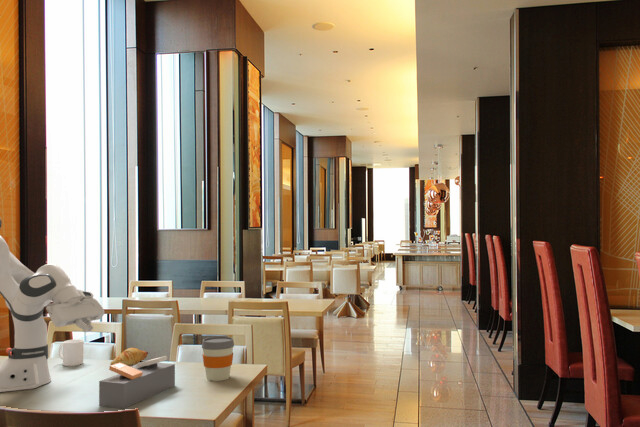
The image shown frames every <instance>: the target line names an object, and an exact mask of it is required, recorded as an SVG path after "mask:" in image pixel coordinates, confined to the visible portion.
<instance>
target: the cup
mask: <svg viewBox="0 0 640 427" xmlns="http://www.w3.org/2000/svg"><path fill="white" fill-rule="evenodd" d="M84 341H85V340H84V339H77V338H75V339H68V340H64V341H63V342H62V343H61V344H59V345H60V346H59V348H58V356H59V358H60V359H61V360H62V365H63V366H65V367H74V366H75V365H77V366H81V365H83V363H84V354H85V352H84V351H85V350H84V348H85V347H84V344H85V342H84ZM80 364H81V365H80ZM75 367H76V366H75Z"/></svg>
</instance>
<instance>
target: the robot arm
mask: <svg viewBox="0 0 640 427" xmlns="http://www.w3.org/2000/svg"><path fill="white" fill-rule="evenodd" d="M2 223H3V222H2V220H1V218H0V229H2ZM0 295H1V296H2V297H3V299H4V301H5V305H6V307H7V308H8V309H9V311H10V314H11V317H12V321H13V326H14V347H13V348H11V347H7V348H6V354H8V358H7V359H6V360H5V361H3V362H2V363H1V364H0V393H3V392H12V391H13V392H14V391H22V390H31V389H36V388H38V387H41V386H43V385H47V384H49V383H50V382H52V378H51V375H50V370H49V362H48V360H49V345H48V325H47V324H48V323H47V322H46V321H45V318H44V309H46V311H47V313H48V316H49V318H50V320H51V322H52V324H53V326H54V327H56V328H61V327H66V326H71V325H75V326H76V327H78V328H79V329H81V330H82V331H83V332H84V333H87V332H91V331H92V330H93V329H94V326H93V324H92V322H93V321H98V320H101V319H102V318H103V316H104V315H105V309H104V308H103V306H102V305H101V303H100V302H99V301H98V300H97V299H96V298H94V294H93V293H92V292H91V291H84V290H81V289H77V287H76V286H75V285H73V284H72V282H71V279H70V278H69V276H68V275H67V273H66V272H65V271H64V270H63V269H62V268H61V267H60V266H58V265H57V264H54V263H47V264H44V265H42V266H40V267H39V268H37V270H36V272H34V271H32V270H31V269H29V268H28V267H27V266H26V265H24V264H23V263H22V262H21V261H20V260H19V258H17V257H16V256H15V254H13V253H12V252H11V251H10V247H9V245H8V243H7V242H6V239H4V237H3V236H1V235H0ZM51 302H52V303H51Z"/></svg>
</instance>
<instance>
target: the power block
mask: <svg viewBox="0 0 640 427" xmlns="http://www.w3.org/2000/svg"><path fill="white" fill-rule="evenodd" d="M135 369H137V370H139V371H142V372H143V374H142V376H140V377H138V378H135V379H133V380H132V379H129V378H127V377H125V376H122V375H120V374H118V373H117V374H116V375H113V376H109V377H106V378H105V379H101V380H100V381H99V382H98V384H99V386H98V389H99V390H98V395H99V396H98V401H99V402H98V406H100V407H109V408H116V409H117V408H118V409H126V408H128V407H131V406H133V405H135V404H137V403H139V402H142V401H144V400H146V399H148V398H150V397H153V396H155V395H158V394H159V393H161V392H164V391H166V390H168V389H170V388H173V387H175V386H176V370H175V369H176V364H175V363H168V362H167V363H166V362H159V363H155V364H151V365H147V366H142V367H138V368H135Z"/></svg>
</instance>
